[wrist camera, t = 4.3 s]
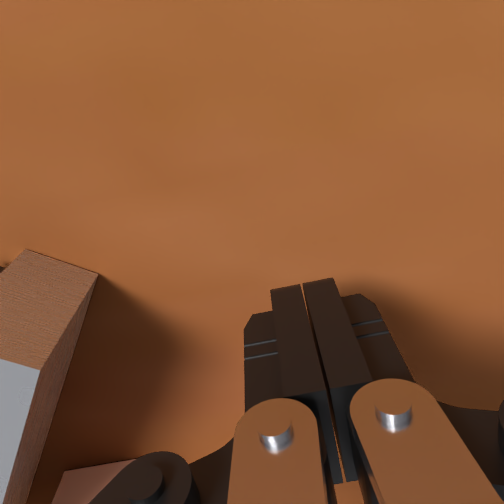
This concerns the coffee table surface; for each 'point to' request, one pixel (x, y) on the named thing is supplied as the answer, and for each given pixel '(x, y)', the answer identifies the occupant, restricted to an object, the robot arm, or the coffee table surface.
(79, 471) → the salmon pink block
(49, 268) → the arm
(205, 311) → the coffee table surface
